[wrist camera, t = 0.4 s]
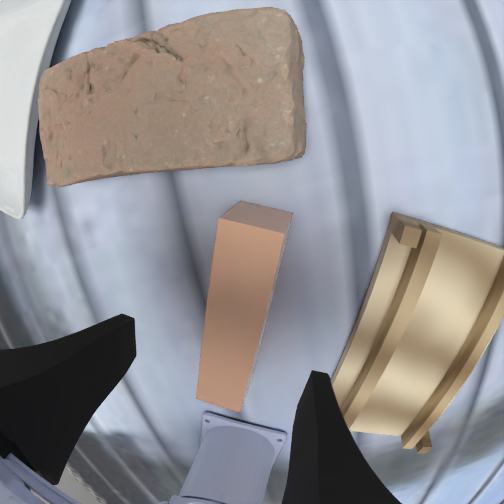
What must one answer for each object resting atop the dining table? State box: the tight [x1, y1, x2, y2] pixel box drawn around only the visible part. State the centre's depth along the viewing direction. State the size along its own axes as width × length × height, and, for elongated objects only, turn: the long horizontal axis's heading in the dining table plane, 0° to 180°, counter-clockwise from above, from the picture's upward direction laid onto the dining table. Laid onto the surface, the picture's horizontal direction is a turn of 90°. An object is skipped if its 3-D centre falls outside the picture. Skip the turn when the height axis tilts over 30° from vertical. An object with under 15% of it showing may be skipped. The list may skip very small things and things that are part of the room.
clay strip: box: [196, 201, 293, 412], centre depth 19 cm, size 13×3×4 cm, turn 169°
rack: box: [331, 212, 504, 453], centre depth 18 cm, size 18×11×3 cm, turn 170°
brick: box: [38, 7, 306, 187], centre depth 16 cm, size 17×8×5 cm, turn 93°
